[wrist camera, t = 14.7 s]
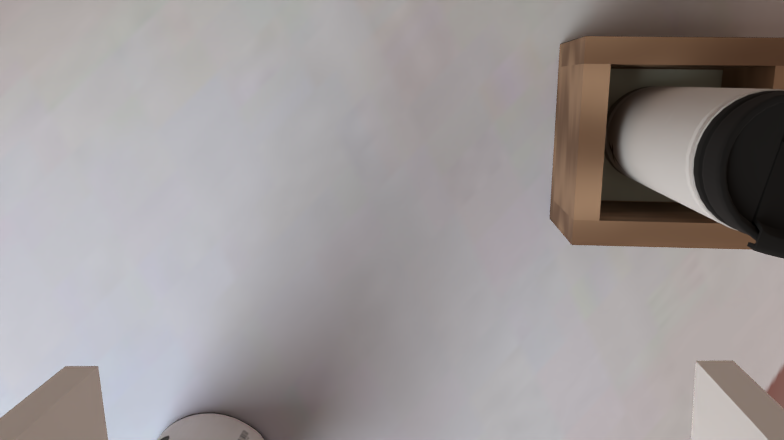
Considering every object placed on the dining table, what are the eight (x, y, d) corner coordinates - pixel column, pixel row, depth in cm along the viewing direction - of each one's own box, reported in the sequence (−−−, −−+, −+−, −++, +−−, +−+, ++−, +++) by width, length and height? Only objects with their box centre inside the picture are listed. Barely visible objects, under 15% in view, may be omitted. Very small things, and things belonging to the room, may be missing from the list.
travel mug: (586, 171, 46) (697, 238, 27) (617, 75, 45) (758, 71, 25) (675, 195, 46) (852, 279, 27) (709, 99, 45) (921, 114, 25)
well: (559, 44, 46) (585, 36, 38) (742, 45, 45) (807, 37, 37) (549, 218, 48) (571, 244, 40) (723, 222, 47) (780, 249, 40)
